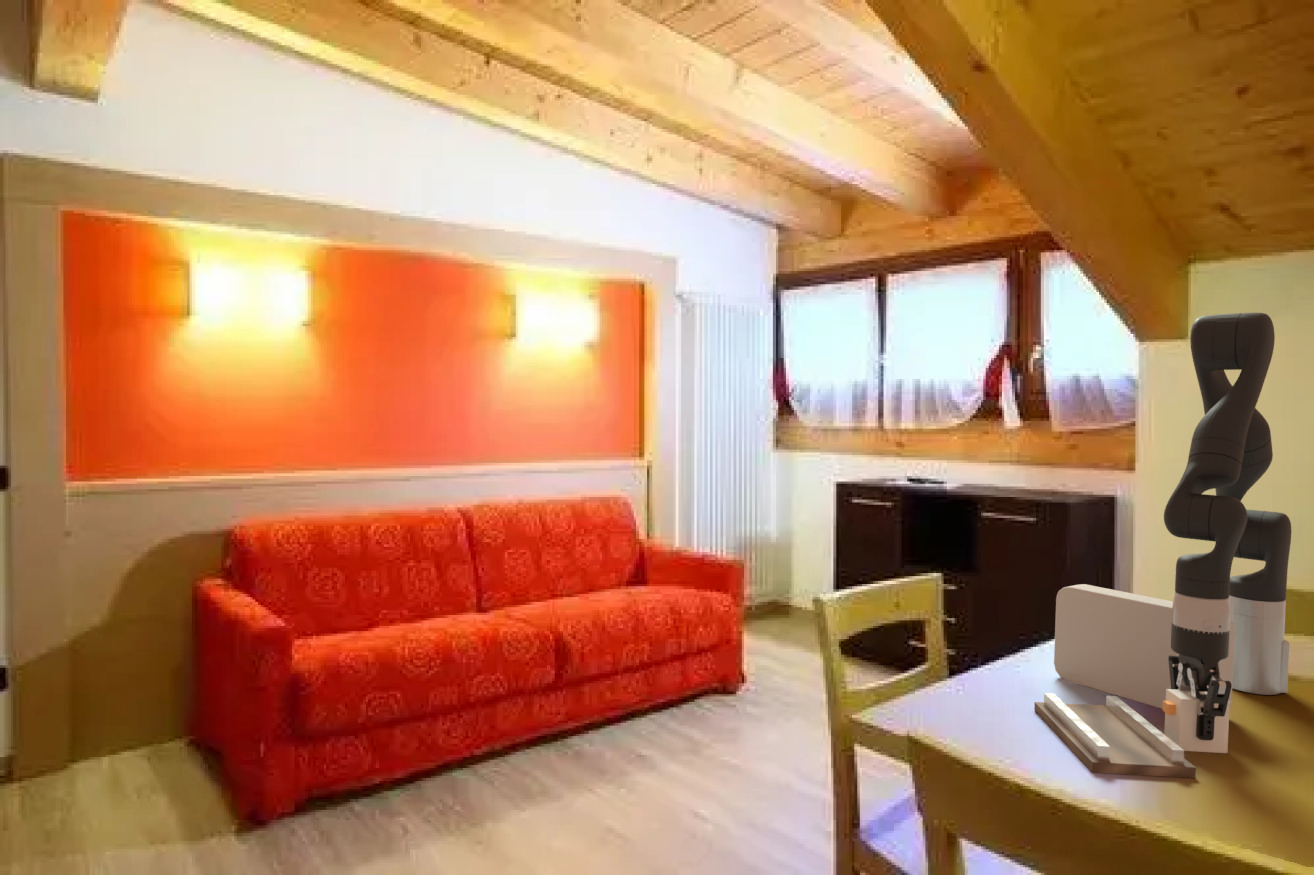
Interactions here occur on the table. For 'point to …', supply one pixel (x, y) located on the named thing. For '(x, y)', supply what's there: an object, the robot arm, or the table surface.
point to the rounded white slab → (1119, 643)
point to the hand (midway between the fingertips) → (1195, 732)
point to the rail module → (1192, 723)
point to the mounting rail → (1125, 715)
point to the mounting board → (1114, 744)
